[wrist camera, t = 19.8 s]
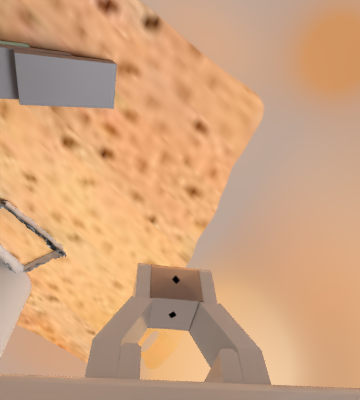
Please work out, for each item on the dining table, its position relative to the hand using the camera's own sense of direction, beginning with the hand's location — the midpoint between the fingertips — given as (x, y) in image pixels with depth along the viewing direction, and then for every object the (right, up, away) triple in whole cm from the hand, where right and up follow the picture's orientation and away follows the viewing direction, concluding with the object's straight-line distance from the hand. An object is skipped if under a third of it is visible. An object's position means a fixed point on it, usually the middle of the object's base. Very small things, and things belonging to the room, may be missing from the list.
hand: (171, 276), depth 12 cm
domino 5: (-8, +17, +23) cm, 29 cm away
